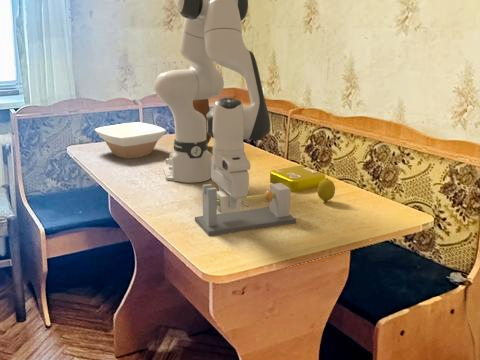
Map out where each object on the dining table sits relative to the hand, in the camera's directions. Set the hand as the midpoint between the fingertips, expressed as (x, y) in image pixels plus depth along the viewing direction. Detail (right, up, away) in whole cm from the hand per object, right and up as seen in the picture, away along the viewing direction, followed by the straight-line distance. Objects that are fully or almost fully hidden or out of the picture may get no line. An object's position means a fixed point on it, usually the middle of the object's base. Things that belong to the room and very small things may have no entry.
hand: (228, 204), depth 167 cm
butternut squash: (-15, +20, +86) cm, 89 cm away
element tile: (+24, +5, +40) cm, 47 cm away
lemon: (+31, 0, +21) cm, 38 cm away
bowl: (-42, +18, +77) cm, 90 cm away
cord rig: (+5, -5, +4) cm, 8 cm away
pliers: (-1, 0, +21) cm, 21 cm away
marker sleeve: (0, -2, +1) cm, 2 cm away
